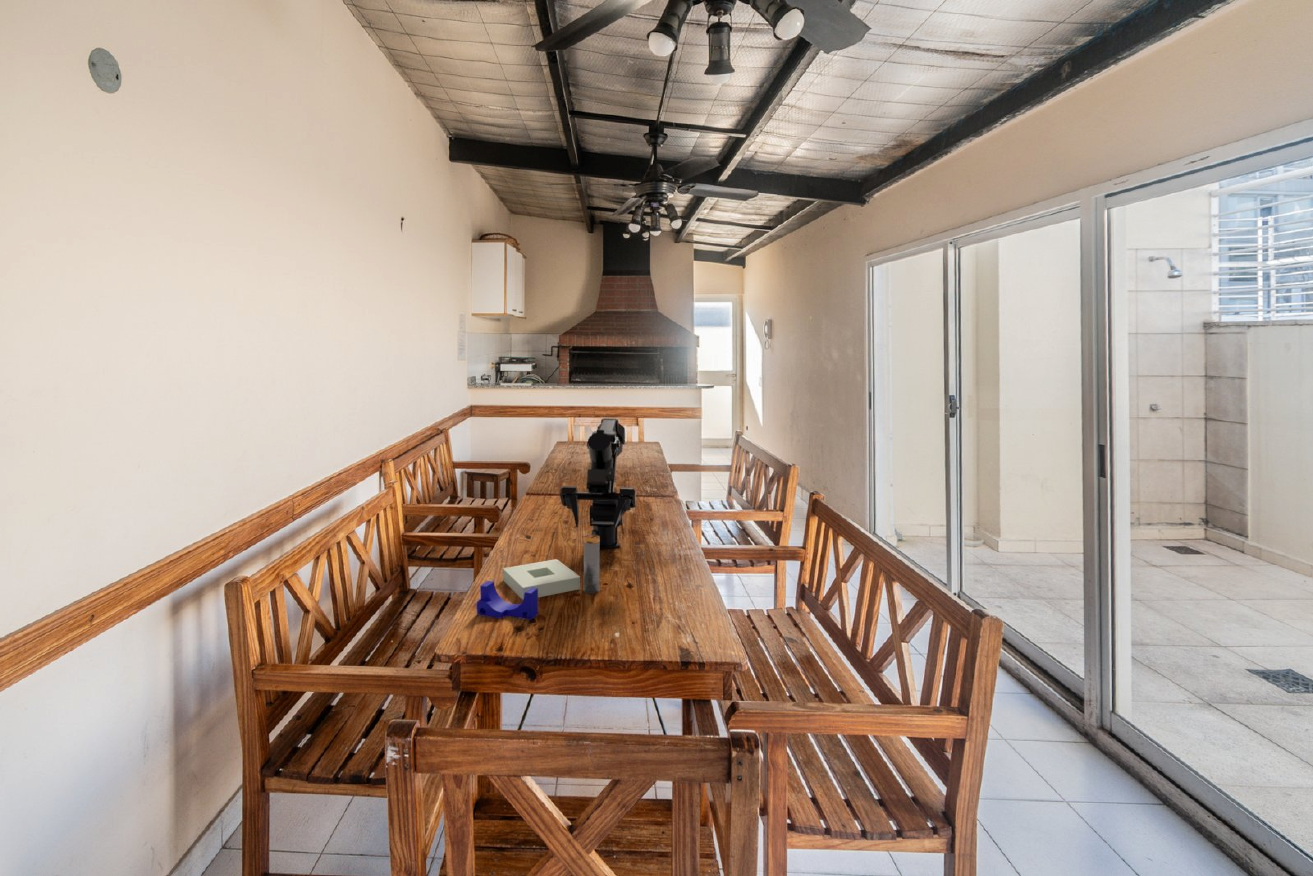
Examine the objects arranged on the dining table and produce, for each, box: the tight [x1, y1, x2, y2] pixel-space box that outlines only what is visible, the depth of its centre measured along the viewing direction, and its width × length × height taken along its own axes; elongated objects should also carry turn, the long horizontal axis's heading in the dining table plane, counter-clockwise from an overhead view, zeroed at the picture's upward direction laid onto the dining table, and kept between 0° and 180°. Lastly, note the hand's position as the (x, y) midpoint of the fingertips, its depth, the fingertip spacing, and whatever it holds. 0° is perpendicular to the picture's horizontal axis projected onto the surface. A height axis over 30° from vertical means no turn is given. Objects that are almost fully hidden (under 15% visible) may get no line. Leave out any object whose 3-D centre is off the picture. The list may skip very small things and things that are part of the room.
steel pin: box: [583, 534, 600, 594], centre depth 148 cm, size 4×4×13 cm
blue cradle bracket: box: [476, 580, 539, 621], centre depth 135 cm, size 12×4×6 cm, turn 73°
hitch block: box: [502, 558, 581, 601], centre depth 152 cm, size 14×14×3 cm
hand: (595, 526), depth 155 cm, fingers open, 9 cm apart
